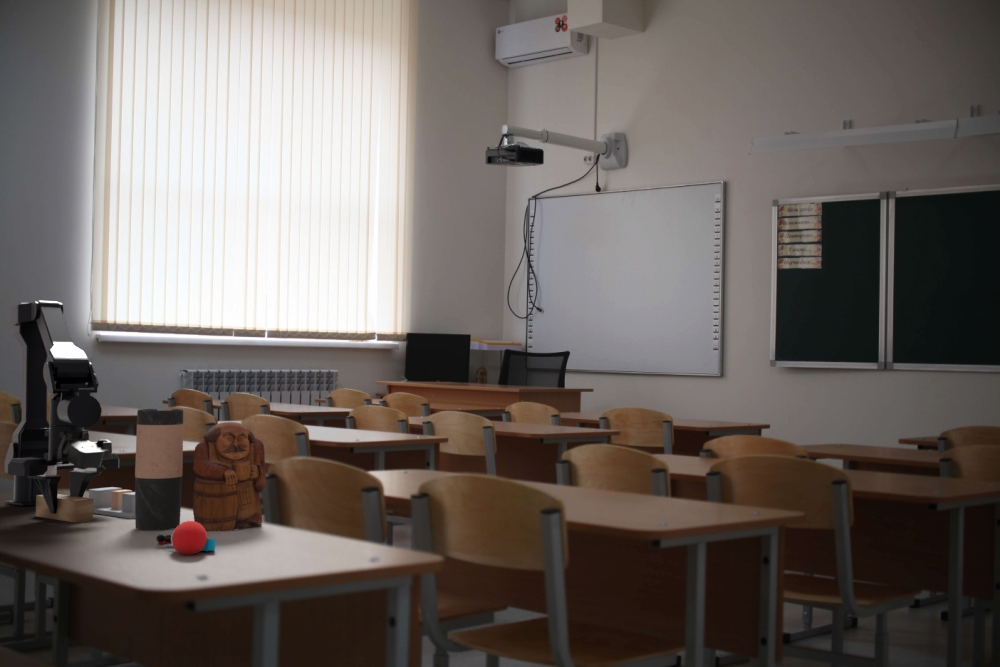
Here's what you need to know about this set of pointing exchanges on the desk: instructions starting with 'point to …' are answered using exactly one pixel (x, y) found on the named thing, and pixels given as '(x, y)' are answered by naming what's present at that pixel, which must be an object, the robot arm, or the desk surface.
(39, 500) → the walnut bar
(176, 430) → the travel mug
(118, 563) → the desk surface
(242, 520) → the wooden figurine
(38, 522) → the desk surface
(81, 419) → the robot arm
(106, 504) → the pale grey flat fixture
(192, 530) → the toy figure
